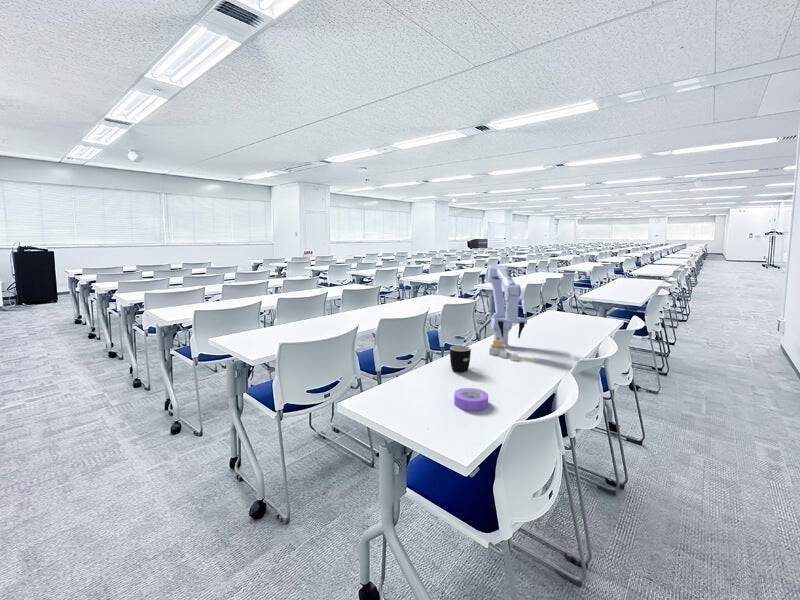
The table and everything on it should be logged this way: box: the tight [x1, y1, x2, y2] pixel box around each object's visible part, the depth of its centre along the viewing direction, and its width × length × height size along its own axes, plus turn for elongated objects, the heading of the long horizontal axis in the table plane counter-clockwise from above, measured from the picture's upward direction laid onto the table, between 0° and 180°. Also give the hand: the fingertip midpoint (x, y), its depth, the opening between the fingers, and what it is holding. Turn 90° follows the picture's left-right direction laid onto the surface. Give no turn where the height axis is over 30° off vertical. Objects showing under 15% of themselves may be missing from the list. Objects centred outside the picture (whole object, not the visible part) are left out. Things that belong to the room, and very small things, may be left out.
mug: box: [449, 344, 472, 374], centre depth 166 cm, size 12×9×10 cm
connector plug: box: [492, 337, 502, 349], centre depth 186 cm, size 4×4×8 cm
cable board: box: [488, 343, 535, 363], centre depth 181 cm, size 16×22×4 cm
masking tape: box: [453, 387, 489, 412], centre depth 133 cm, size 12×12×4 cm
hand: (510, 337), depth 184 cm, fingers open, 7 cm apart
